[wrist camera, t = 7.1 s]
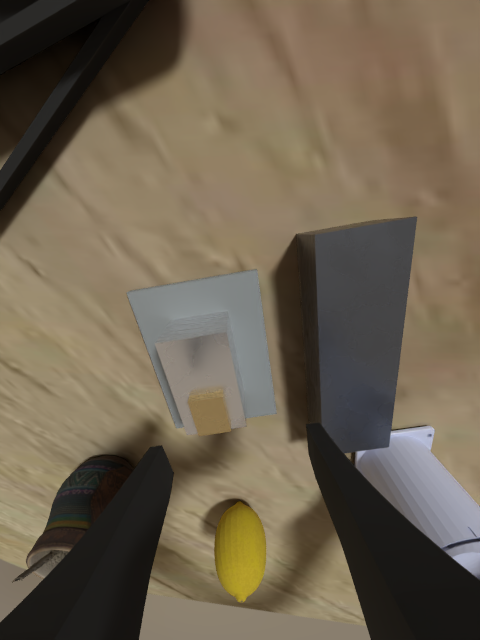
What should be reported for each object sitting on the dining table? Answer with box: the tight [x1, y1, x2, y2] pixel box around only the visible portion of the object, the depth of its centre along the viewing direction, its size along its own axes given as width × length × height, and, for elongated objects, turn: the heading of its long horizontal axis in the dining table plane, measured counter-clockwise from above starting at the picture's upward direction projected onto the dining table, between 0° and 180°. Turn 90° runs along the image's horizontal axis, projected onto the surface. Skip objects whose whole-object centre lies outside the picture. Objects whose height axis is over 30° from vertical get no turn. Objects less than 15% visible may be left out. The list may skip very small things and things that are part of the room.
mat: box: [127, 269, 277, 428], centre depth 19 cm, size 14×10×1 cm
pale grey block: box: [155, 311, 247, 436], centre depth 17 cm, size 8×5×5 cm, turn 10°
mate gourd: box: [13, 455, 134, 582], centre depth 20 cm, size 7×8×10 cm
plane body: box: [296, 217, 417, 453], centre depth 17 cm, size 18×6×4 cm, turn 9°
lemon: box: [214, 501, 266, 602], centre depth 24 cm, size 6×6×8 cm
